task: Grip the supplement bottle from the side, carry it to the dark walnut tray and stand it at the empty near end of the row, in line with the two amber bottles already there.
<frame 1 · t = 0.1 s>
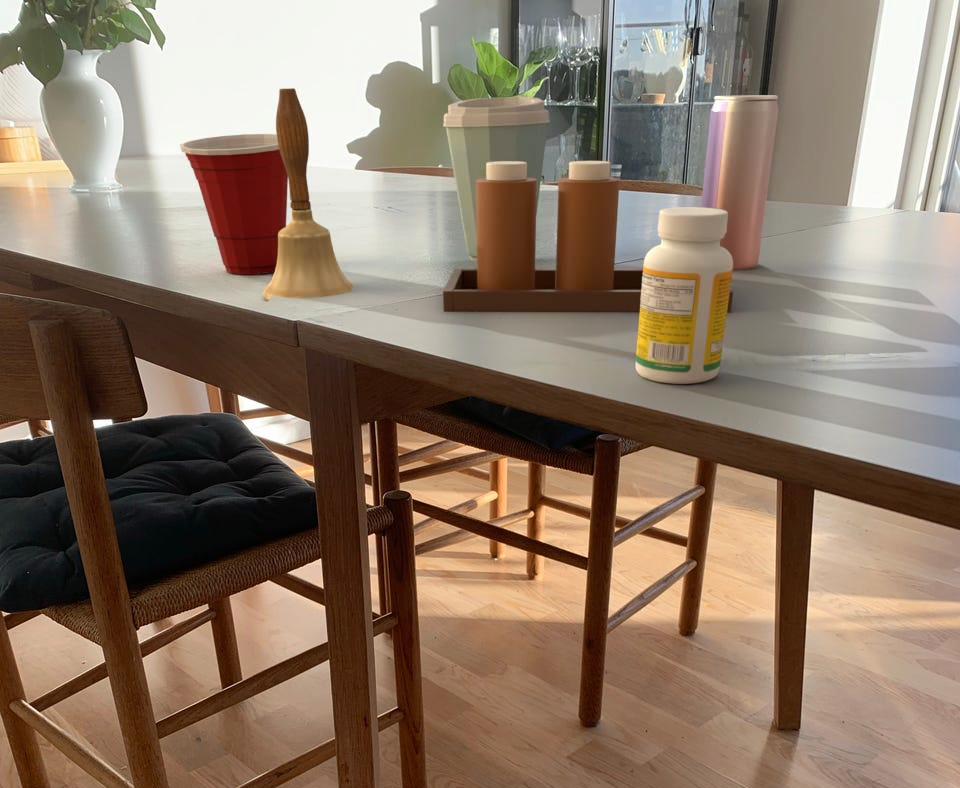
amber bottle: (583, 298, 79), point 1 cm above the table, touching tray
supplement bottle: (676, 377, 61), on the table
plastic cup: (253, 272, 96), on the table
tray: (583, 305, 79), on the table
beverage can: (725, 273, 93), on the table
disposable coffee cup: (496, 262, 100), on the table
far amber bottle: (505, 298, 79), point 1 cm above the table, touching tray
hand bell: (310, 297, 84), on the table
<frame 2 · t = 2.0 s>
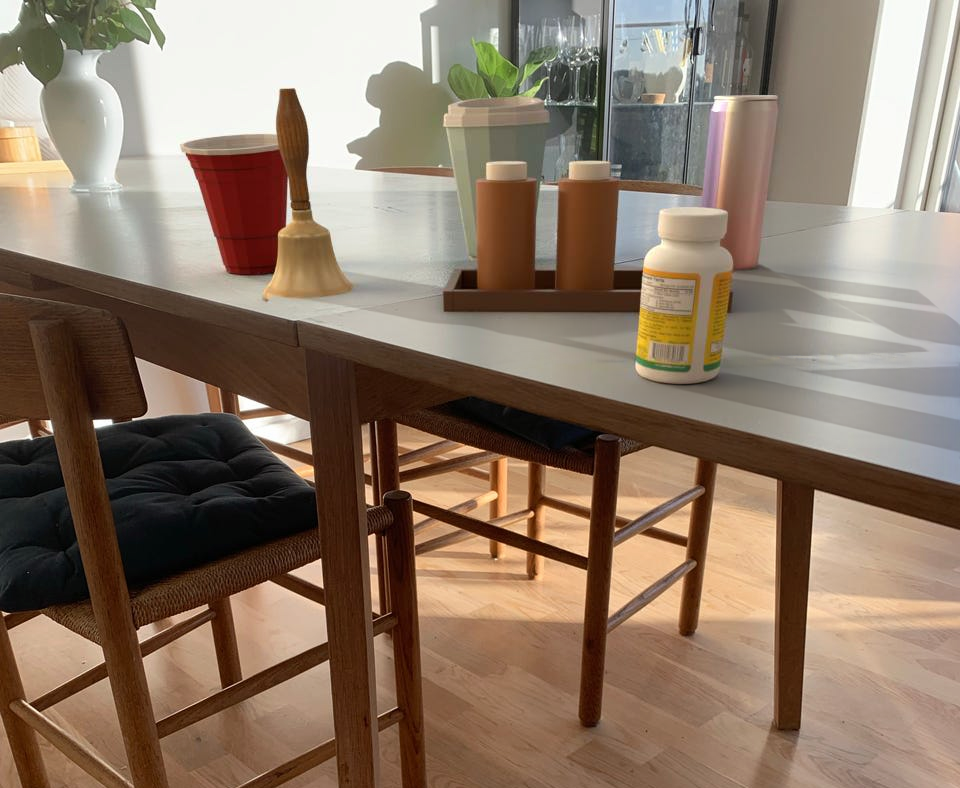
nothing on the table moved.
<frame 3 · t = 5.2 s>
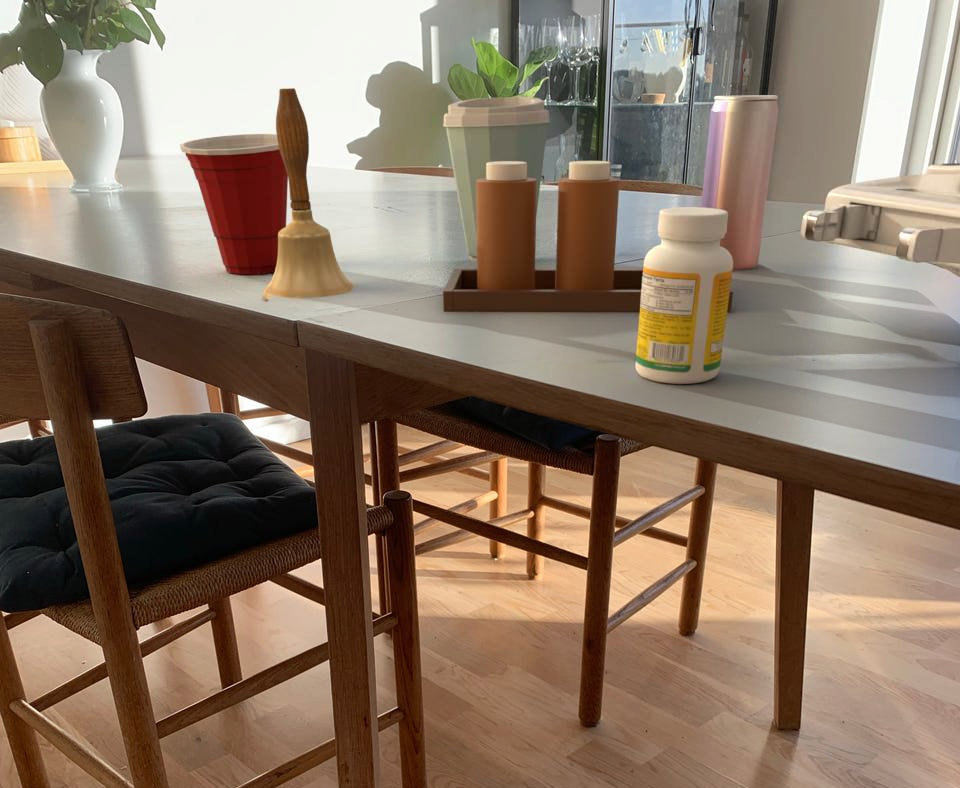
hand: (853, 235, 60), 8 cm above the table, tool horizontal, fingers open, 8 cm apart
nothing on the table moved.
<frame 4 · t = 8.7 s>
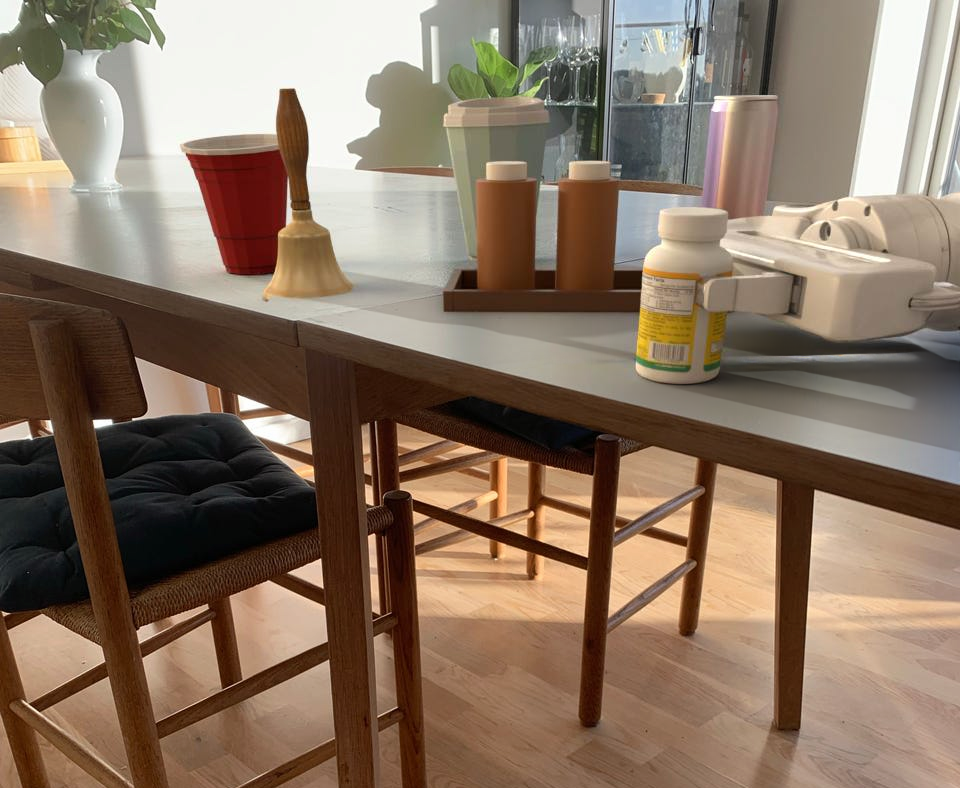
hand: (673, 284, 58), 5 cm above the table, tool horizontal, fingers closed on supplement bottle, 5 cm apart
supplement bottle: (676, 377, 61), on the table, touching gripper
everything else where it was.
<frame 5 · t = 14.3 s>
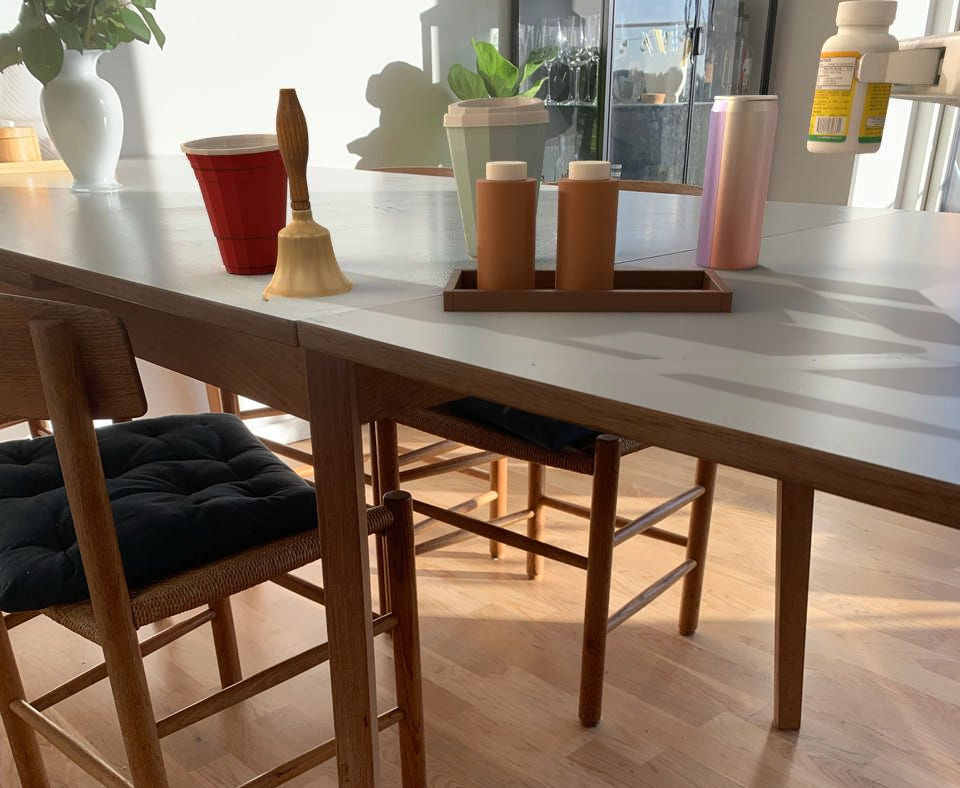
hand: (844, 68, 70), 17 cm above the table, tool horizontal, fingers closed on supplement bottle, 5 cm apart
supplement bottle: (842, 155, 72), point 11 cm above the table, touching gripper
everything else where it was.
when the fingers open (6 cm above the table, at t = 19.9 s): supplement bottle stays where it is, resting on tray.
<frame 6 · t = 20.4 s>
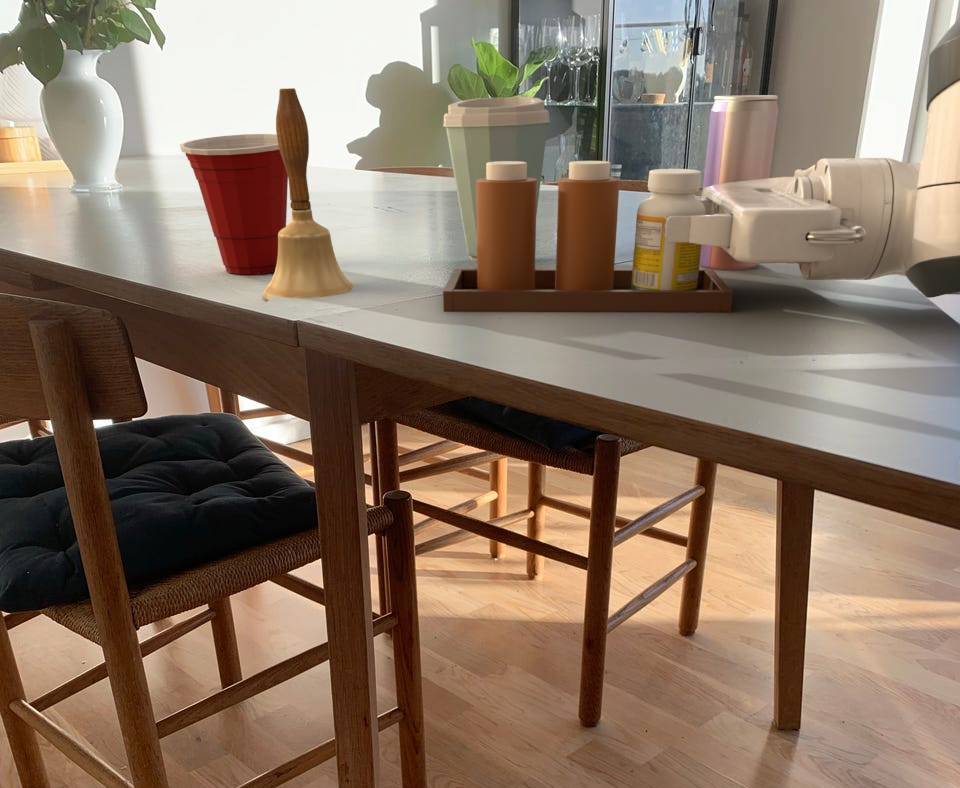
hand: (658, 221, 76), 7 cm above the table, tool horizontal, fingers open, 8 cm apart
supplement bottle: (662, 302, 78), resting on tray
everything else where it was.
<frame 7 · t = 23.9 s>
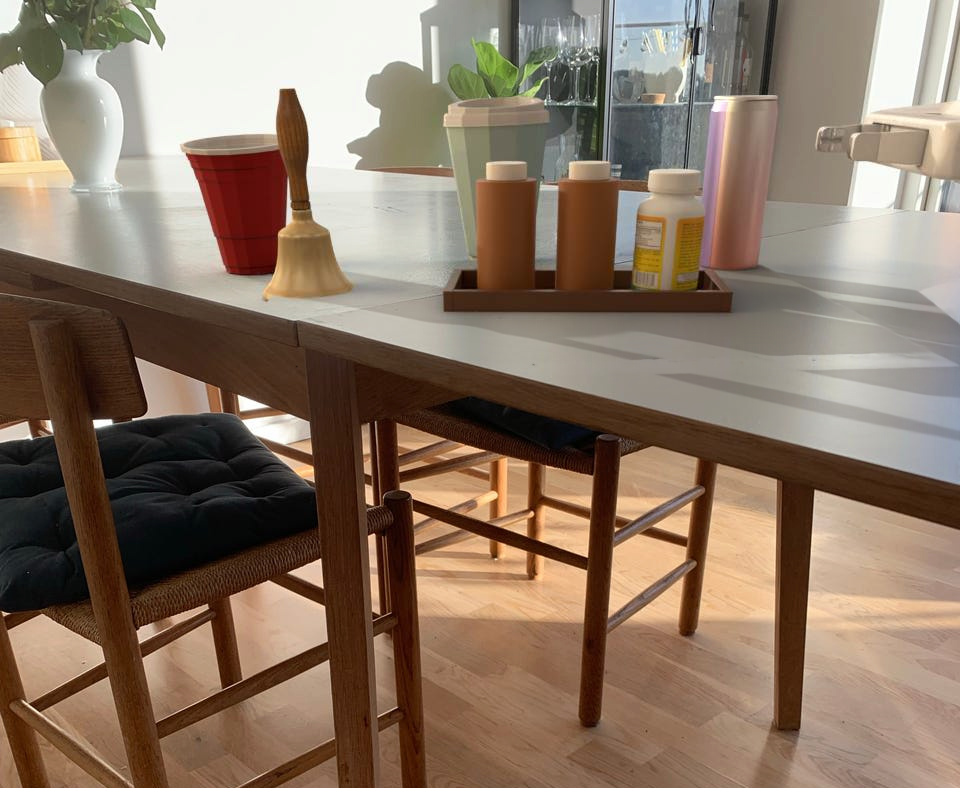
hand: (833, 142, 72), 12 cm above the table, tool horizontal, fingers open, 8 cm apart
nothing on the table moved.
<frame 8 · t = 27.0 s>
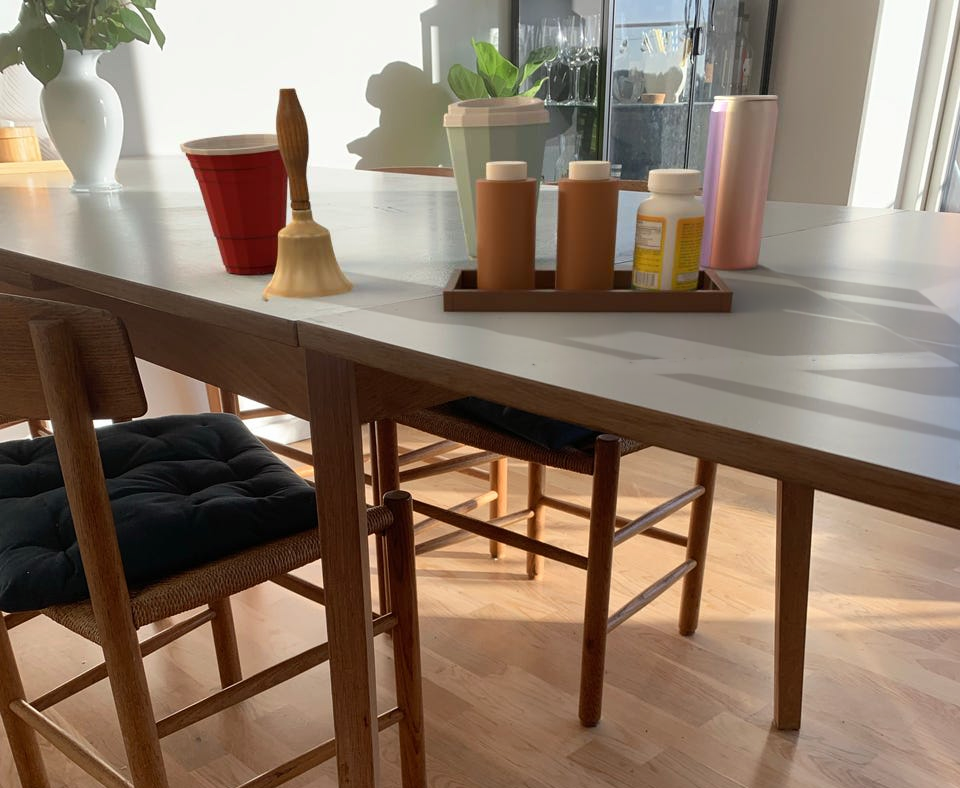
nothing on the table moved.
at the end: supplement bottle 0.5 cm from the target spot in the tray, point 0.4 cm above the tray's base; supplement bottle tilted 0°; amber bottle moved 0.0 cm from its start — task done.
